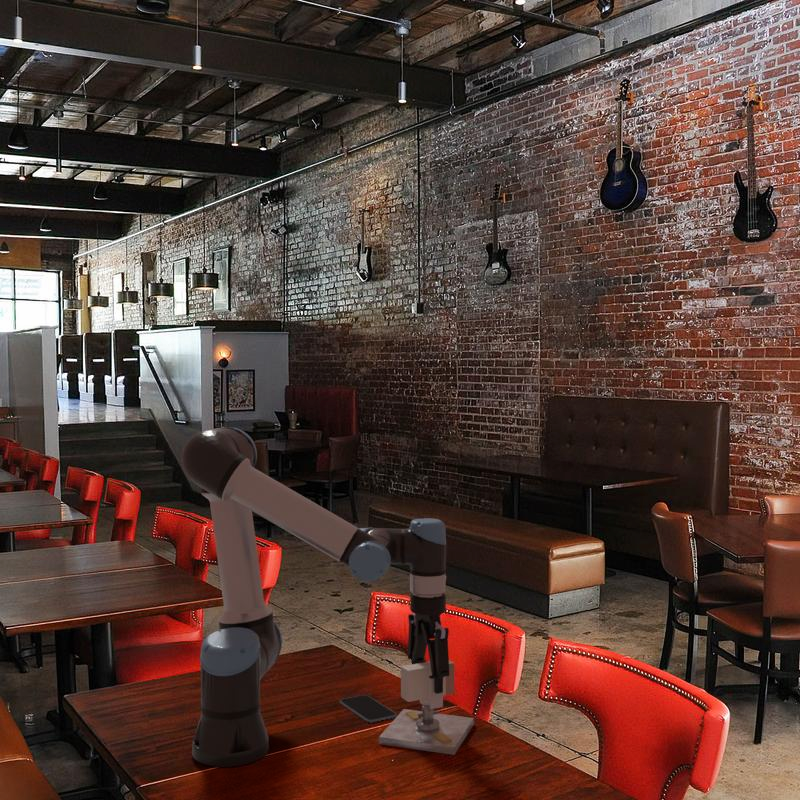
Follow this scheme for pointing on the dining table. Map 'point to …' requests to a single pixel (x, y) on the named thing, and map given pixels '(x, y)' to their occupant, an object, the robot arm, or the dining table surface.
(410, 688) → the grey rectangular block
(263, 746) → the robot arm
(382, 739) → the socket
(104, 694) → the dining table surface
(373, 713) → the smartphone
